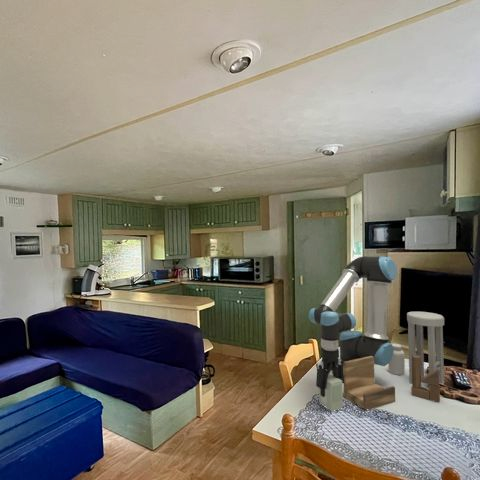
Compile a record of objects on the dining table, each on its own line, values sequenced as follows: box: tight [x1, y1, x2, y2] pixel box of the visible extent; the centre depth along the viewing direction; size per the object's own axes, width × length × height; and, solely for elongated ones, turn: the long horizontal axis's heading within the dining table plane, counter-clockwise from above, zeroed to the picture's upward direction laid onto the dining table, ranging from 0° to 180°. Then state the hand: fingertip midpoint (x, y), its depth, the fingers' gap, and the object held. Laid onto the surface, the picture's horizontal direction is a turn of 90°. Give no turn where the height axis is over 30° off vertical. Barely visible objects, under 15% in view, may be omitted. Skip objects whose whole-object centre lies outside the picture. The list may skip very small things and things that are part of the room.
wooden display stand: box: [343, 356, 396, 411], centre depth 131 cm, size 13×18×16 cm
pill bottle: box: [387, 343, 406, 376], centre depth 160 cm, size 8×8×15 cm
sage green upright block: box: [318, 373, 344, 412], centre depth 126 cm, size 8×6×12 cm
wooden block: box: [410, 354, 441, 403], centre depth 133 cm, size 4×11×18 cm, turn 51°
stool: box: [406, 311, 445, 385], centre depth 146 cm, size 16×16×35 cm
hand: (330, 401), depth 126 cm, fingers closed on sage green upright block, 6 cm apart
